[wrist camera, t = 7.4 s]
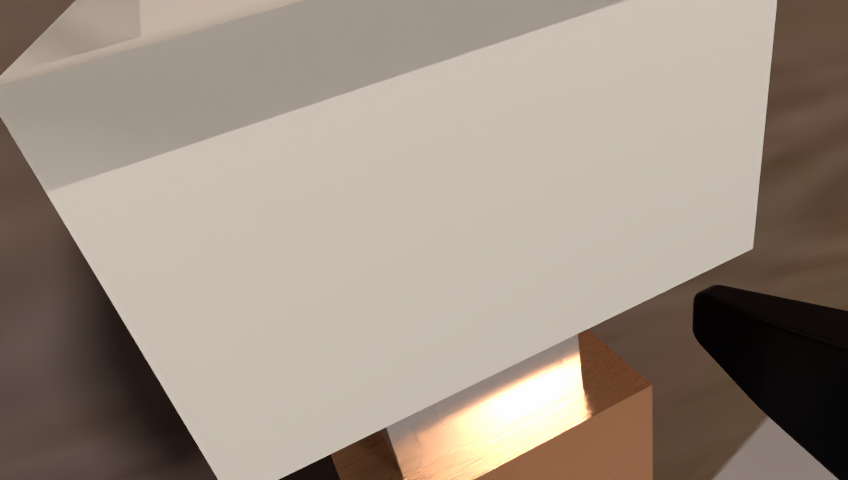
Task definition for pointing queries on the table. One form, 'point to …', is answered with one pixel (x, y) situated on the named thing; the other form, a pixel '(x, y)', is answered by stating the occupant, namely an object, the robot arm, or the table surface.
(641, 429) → the grey and copper post
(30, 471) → the table surface
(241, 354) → the socket block
